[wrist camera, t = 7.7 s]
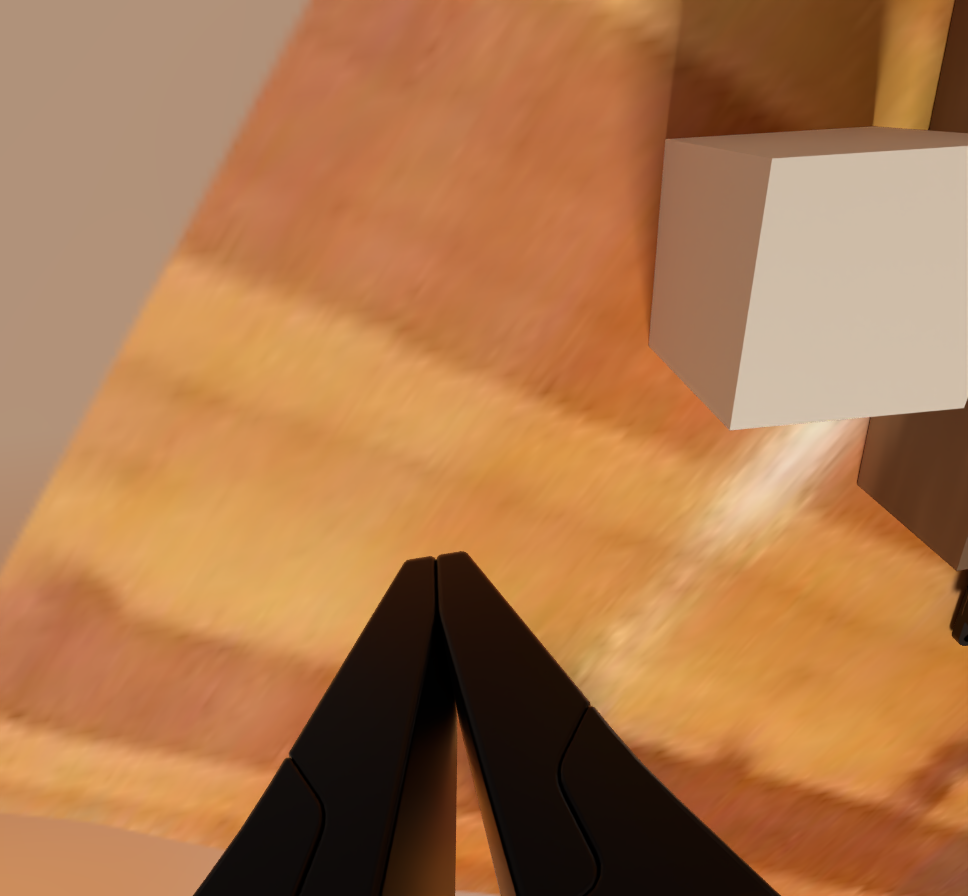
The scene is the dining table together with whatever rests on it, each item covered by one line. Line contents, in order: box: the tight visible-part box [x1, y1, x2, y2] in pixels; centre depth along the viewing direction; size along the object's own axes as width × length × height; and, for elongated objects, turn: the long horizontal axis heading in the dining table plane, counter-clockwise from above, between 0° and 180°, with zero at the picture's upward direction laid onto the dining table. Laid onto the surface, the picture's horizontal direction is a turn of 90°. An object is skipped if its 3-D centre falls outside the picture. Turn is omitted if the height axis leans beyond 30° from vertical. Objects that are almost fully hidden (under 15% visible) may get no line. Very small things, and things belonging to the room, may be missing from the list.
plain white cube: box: [649, 126, 968, 430], centre depth 17 cm, size 6×6×6 cm
